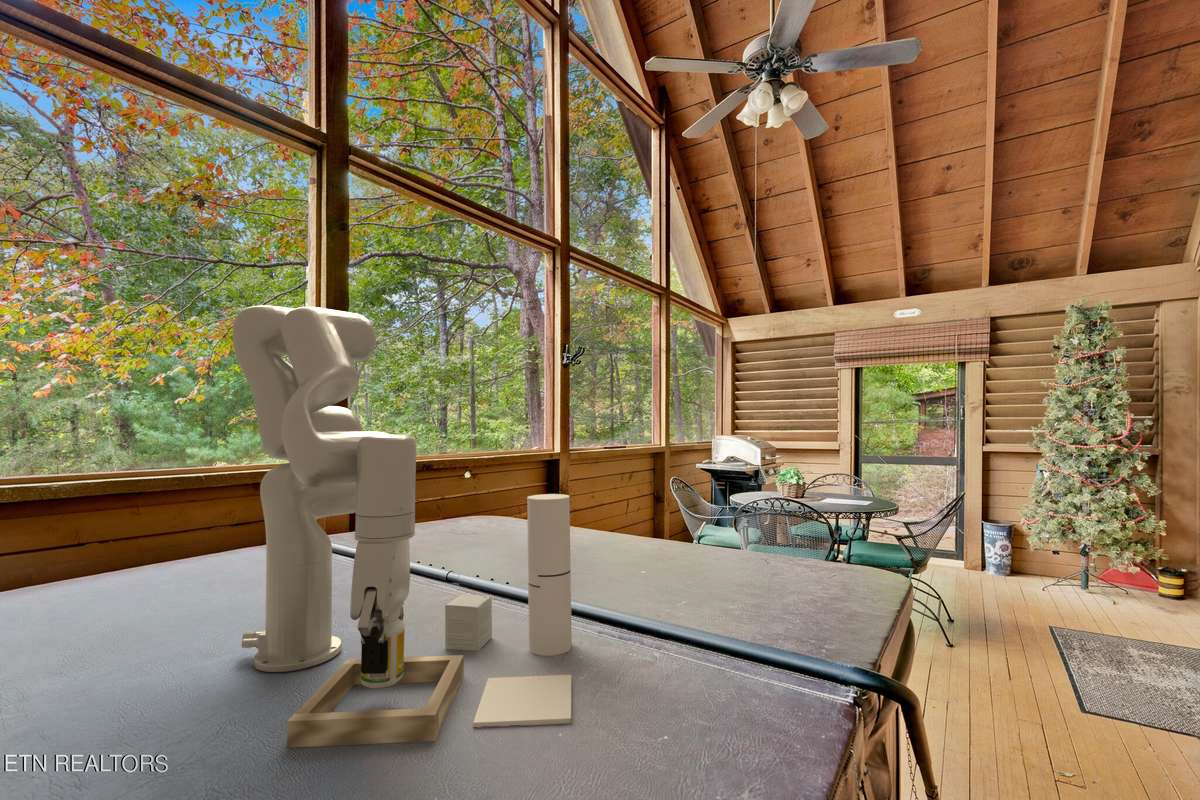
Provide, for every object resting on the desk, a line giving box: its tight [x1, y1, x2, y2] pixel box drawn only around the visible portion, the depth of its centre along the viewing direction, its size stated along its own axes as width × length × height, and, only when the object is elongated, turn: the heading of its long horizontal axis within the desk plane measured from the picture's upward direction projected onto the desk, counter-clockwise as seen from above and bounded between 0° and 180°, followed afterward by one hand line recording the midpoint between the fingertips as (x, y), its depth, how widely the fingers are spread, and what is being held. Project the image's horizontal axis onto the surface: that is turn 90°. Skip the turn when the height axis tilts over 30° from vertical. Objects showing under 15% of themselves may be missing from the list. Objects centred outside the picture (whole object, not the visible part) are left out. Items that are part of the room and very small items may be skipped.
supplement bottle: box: [361, 607, 406, 689], centre depth 73 cm, size 5×5×10 cm
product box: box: [444, 594, 493, 652], centre depth 94 cm, size 6×6×7 cm
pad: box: [472, 674, 572, 728], centre depth 73 cm, size 12×12×1 cm
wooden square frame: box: [286, 654, 465, 749], centre depth 72 cm, size 17×17×3 cm
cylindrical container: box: [526, 493, 573, 657], centre depth 92 cm, size 7×7×25 cm
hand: (382, 660), depth 73 cm, fingers closed on supplement bottle, 5 cm apart
